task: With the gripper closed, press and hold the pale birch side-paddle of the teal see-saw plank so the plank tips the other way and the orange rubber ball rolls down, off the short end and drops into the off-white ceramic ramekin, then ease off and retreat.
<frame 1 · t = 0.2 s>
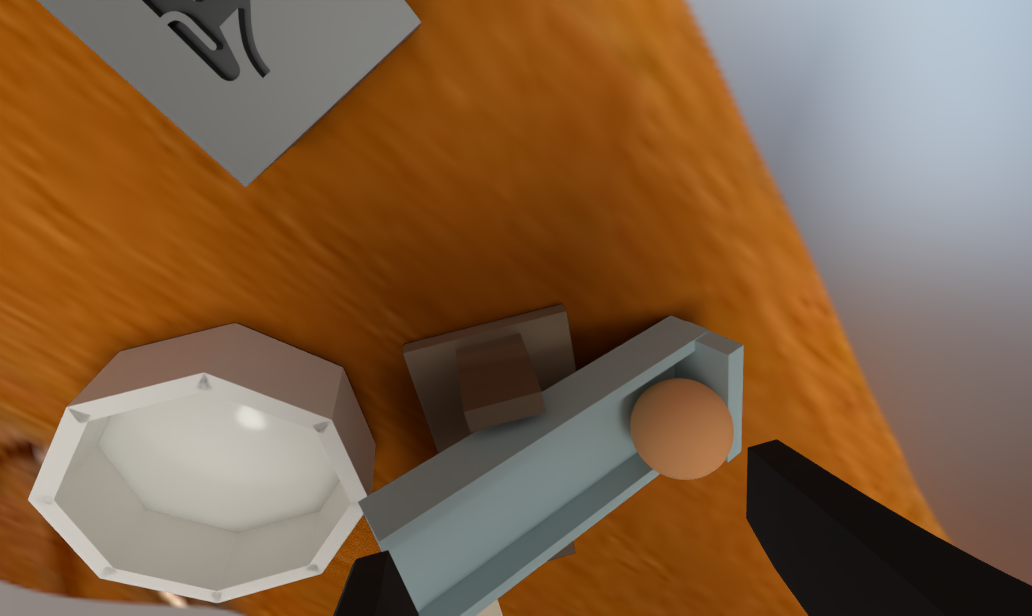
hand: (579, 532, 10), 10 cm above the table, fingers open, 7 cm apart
bowl: (238, 439, 20), on the table
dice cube: (285, 9, 14), on the table
stand: (506, 412, 21), on the table
ball: (680, 427, 19), point 3 cm above the table, tilted 9°, touching lever
lever: (572, 553, 19), point 4 cm above the table, hinge at 23.9°, touching ball
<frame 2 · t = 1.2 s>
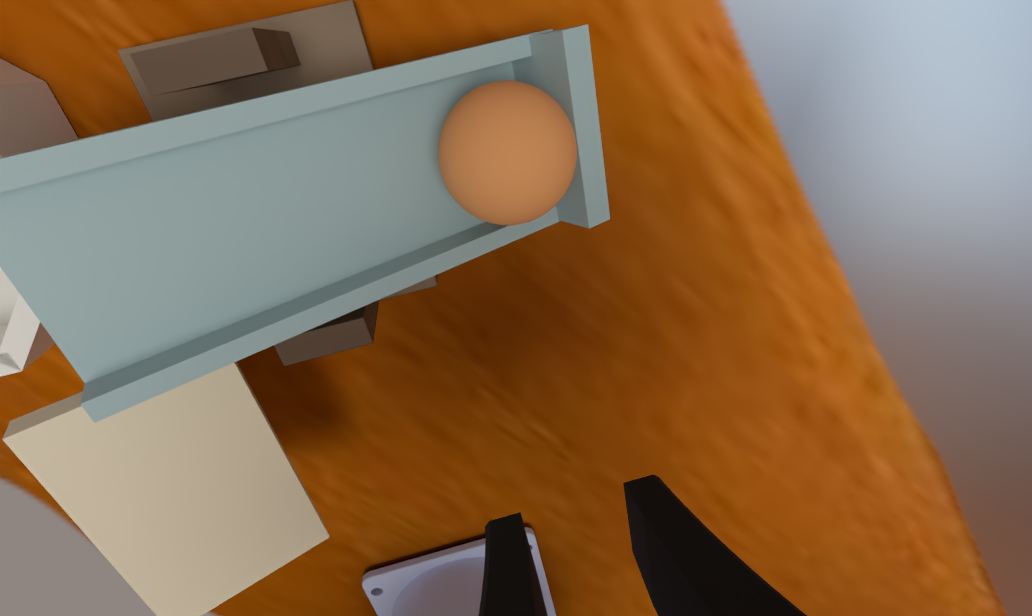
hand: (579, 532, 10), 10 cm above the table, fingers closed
stand: (303, 180, 16), on the table
ball: (507, 155, 13), point 3 cm above the table, tilted 10°, touching lever
lever: (363, 338, 14), point 4 cm above the table, hinge at 23.9°, touching ball
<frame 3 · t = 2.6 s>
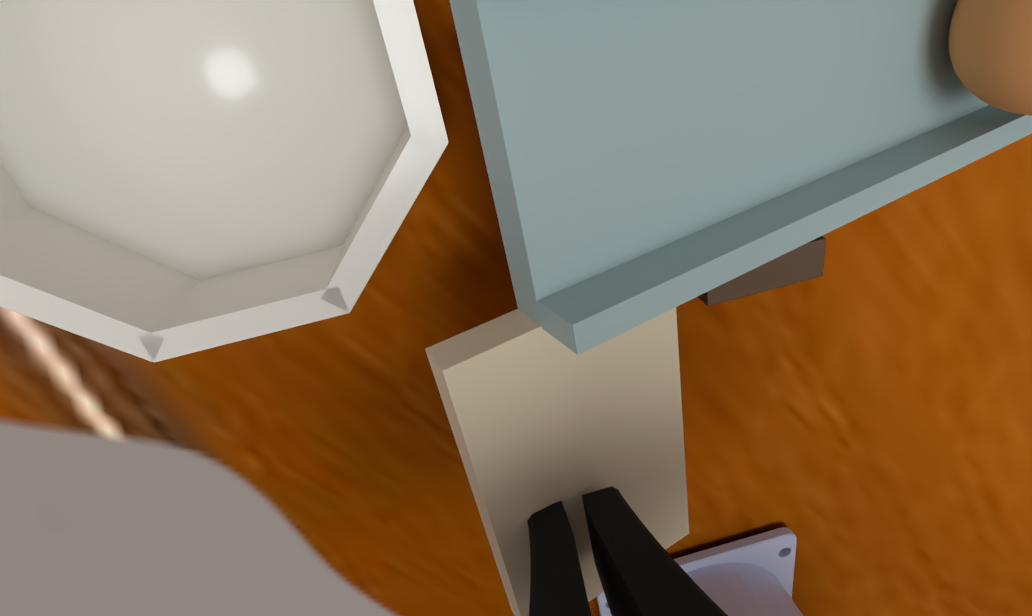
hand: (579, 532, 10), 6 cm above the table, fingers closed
bowl: (196, 76, 11), on the table
stand: (664, 73, 12), on the table
lever: (826, 270, 10), point 5 cm above the table, hinge at 18.1°, touching ball, gripper
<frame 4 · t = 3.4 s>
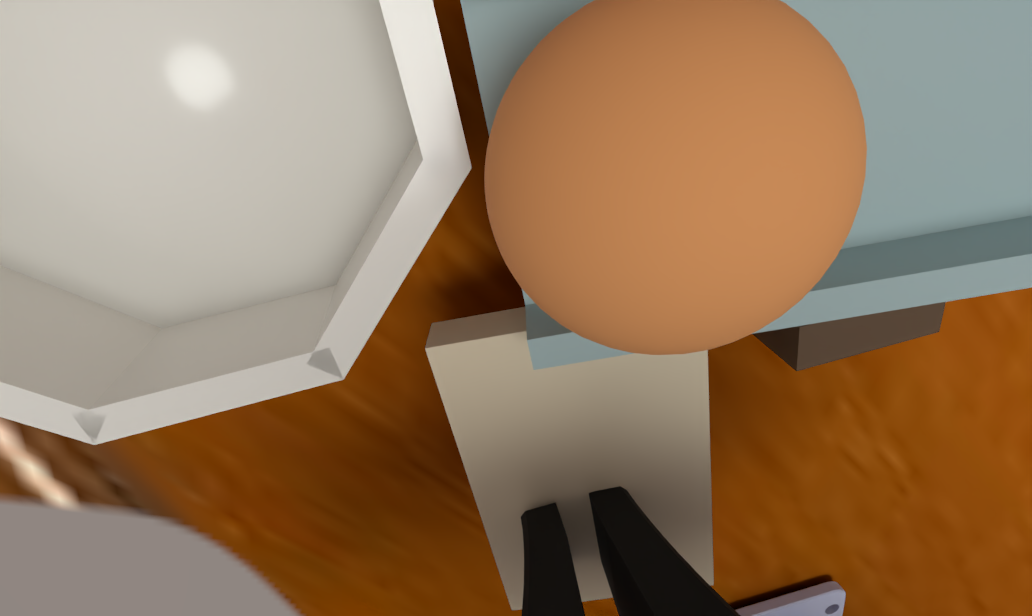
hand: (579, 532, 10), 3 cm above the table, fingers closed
bowl: (151, 80, 8), on the table
stand: (725, 76, 10), on the table
ball: (658, 181, 5), point 5 cm above the table, tilted 48°, touching lever
lever: (937, 349, 7), point 5 cm above the table, hinge at -9.6°, touching ball, gripper
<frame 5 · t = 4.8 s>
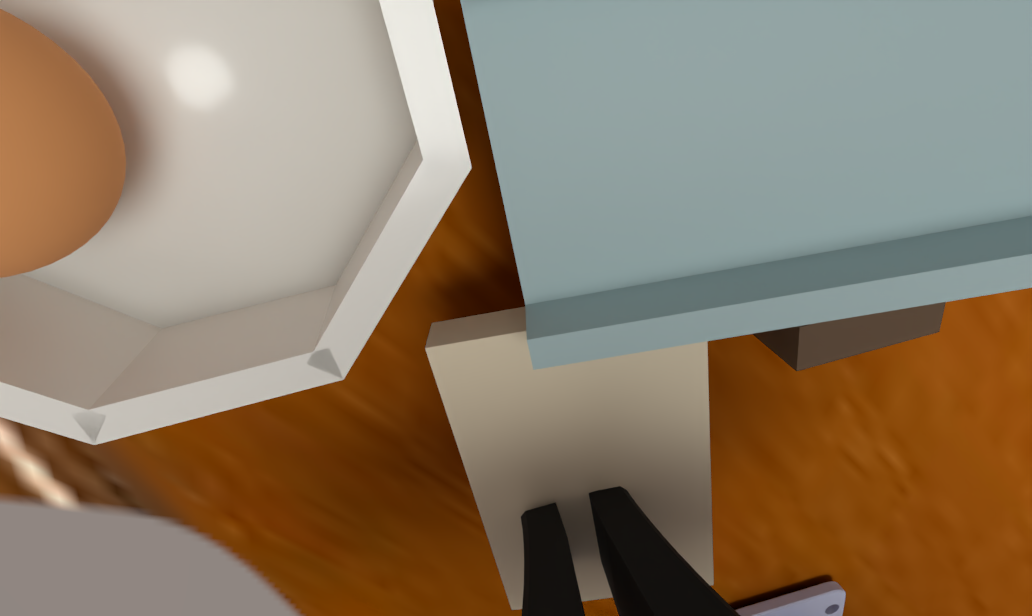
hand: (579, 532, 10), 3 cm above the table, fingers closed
bowl: (151, 80, 8), on the table
stand: (725, 76, 10), on the table
lever: (937, 349, 7), point 5 cm above the table, hinge at -9.7°, touching gripper
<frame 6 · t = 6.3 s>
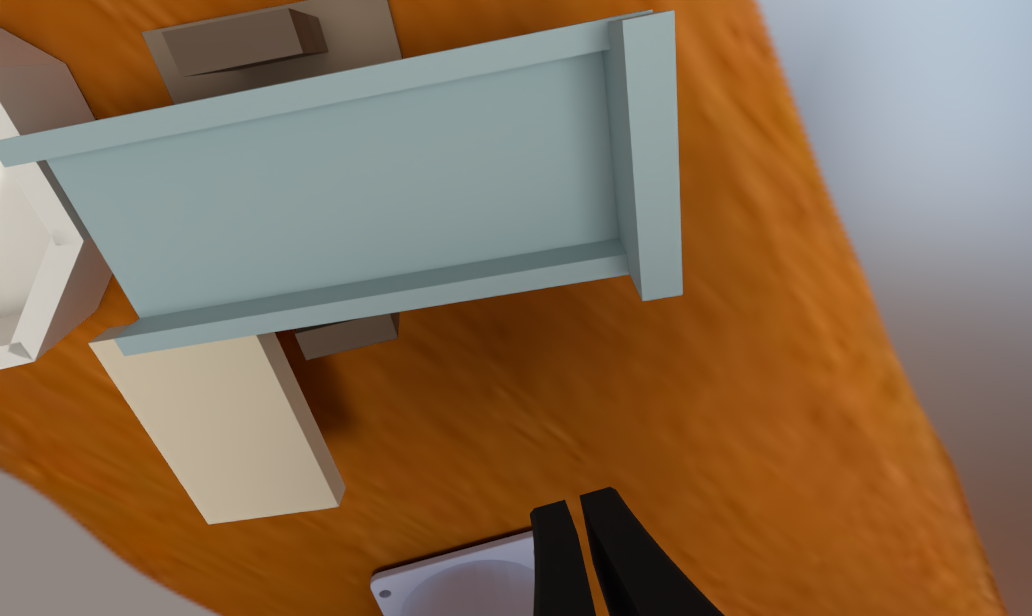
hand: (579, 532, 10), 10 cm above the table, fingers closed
stand: (326, 170, 15), on the table
lever: (362, 348, 13), point 5 cm above the table, hinge at -9.7°
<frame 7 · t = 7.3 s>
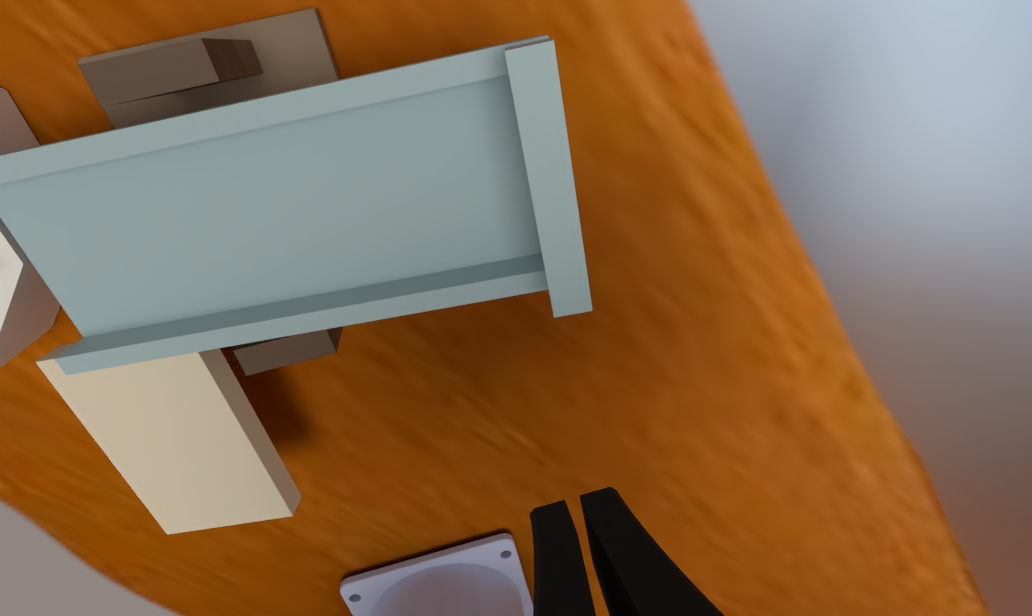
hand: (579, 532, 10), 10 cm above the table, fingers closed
stand: (270, 187, 16), on the table
lever: (298, 363, 13), point 5 cm above the table, hinge at -9.7°
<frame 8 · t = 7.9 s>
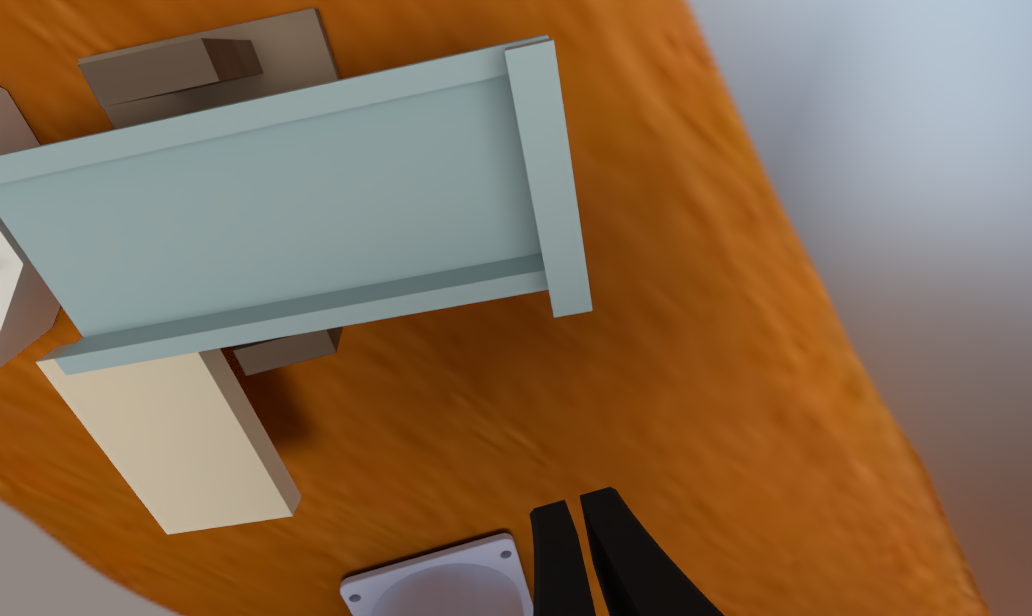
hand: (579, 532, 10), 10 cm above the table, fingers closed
stand: (270, 187, 16), on the table
lever: (298, 363, 13), point 5 cm above the table, hinge at -9.7°
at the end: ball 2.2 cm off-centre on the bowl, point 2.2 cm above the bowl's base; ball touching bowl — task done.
